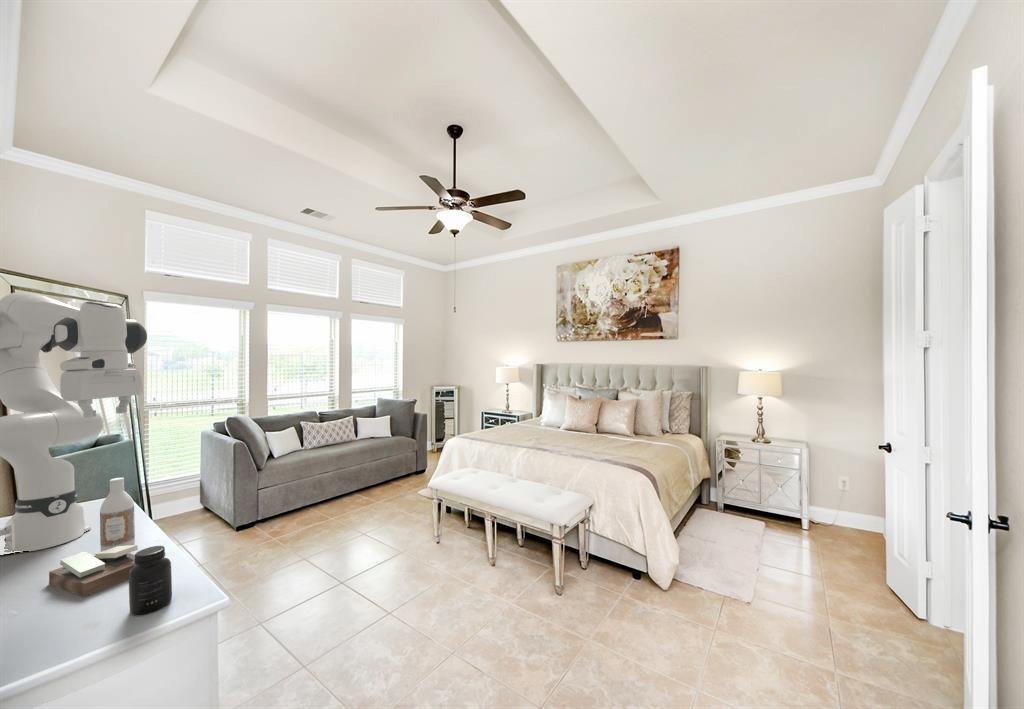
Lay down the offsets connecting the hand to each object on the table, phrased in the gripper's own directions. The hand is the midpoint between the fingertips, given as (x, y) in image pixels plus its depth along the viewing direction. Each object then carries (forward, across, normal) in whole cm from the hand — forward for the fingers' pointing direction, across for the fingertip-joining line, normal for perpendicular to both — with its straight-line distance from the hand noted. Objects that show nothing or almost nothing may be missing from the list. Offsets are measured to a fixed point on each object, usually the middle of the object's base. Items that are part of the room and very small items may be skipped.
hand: (106, 415), depth 107 cm
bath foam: (+39, -9, -5) cm, 40 cm away
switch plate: (+39, +7, +3) cm, 40 cm away
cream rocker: (+35, +4, +5) cm, 35 cm away
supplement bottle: (+40, +22, +26) cm, 52 cm away
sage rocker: (+35, +10, +2) cm, 36 cm away
